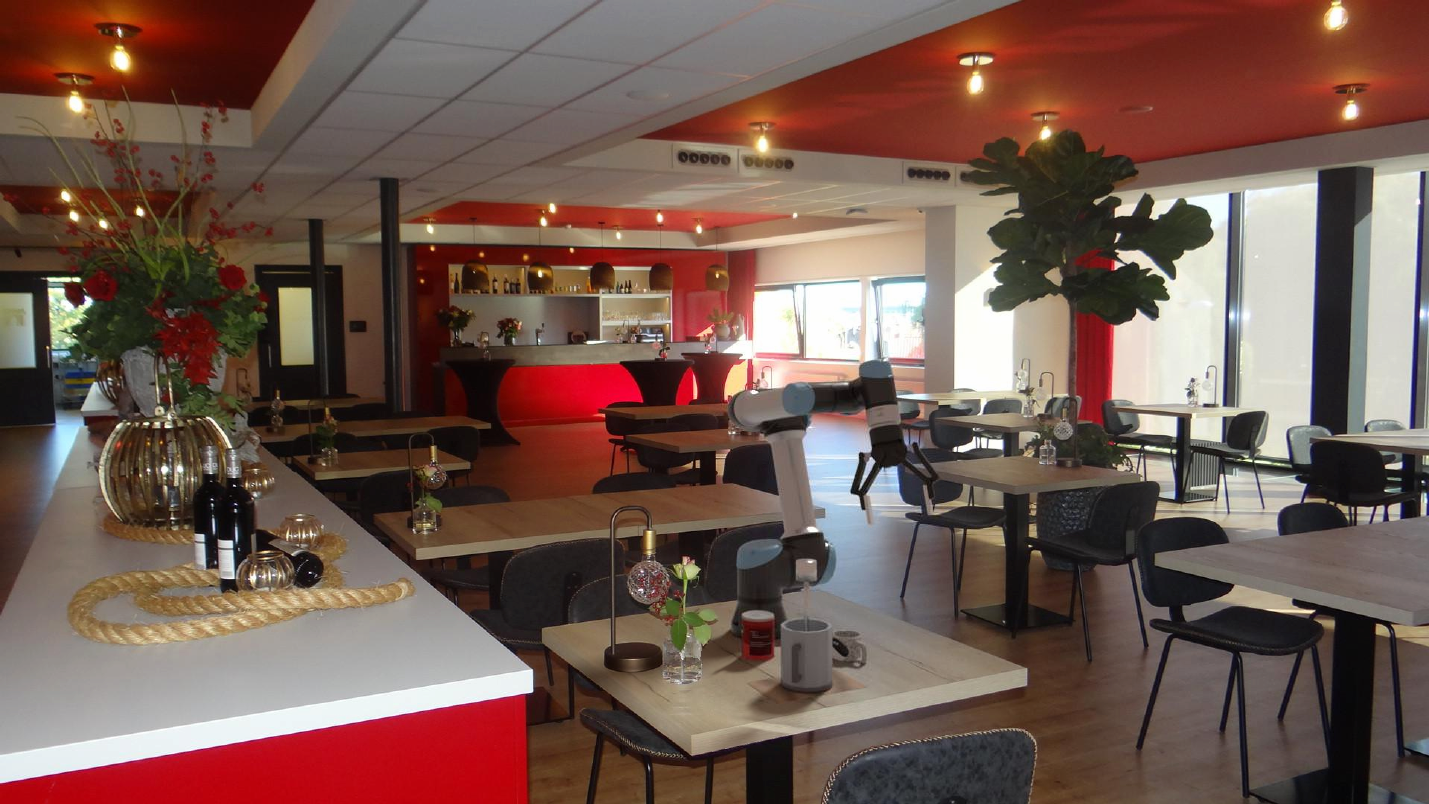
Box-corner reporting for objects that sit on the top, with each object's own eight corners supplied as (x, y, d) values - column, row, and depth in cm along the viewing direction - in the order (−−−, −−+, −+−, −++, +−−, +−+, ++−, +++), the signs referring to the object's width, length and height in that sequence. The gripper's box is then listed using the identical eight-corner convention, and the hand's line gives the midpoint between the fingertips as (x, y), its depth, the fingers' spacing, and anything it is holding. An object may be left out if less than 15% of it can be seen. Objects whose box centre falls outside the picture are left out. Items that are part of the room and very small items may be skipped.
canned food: (756, 653, 242) (756, 608, 241) (781, 660, 236) (781, 614, 235) (734, 660, 236) (734, 614, 236) (759, 668, 230) (759, 621, 230)
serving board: (777, 709, 204) (777, 703, 204) (746, 688, 217) (746, 682, 217) (867, 692, 214) (867, 686, 214) (832, 672, 226) (832, 667, 226)
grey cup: (769, 693, 210) (768, 632, 210) (790, 673, 223) (790, 616, 222) (820, 700, 206) (820, 638, 205) (839, 679, 218) (839, 621, 217)
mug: (826, 660, 235) (826, 633, 235) (847, 655, 239) (847, 628, 239) (855, 672, 227) (855, 643, 227) (876, 666, 231) (876, 638, 230)
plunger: (783, 648, 213) (783, 563, 212) (795, 638, 220) (795, 556, 219) (817, 652, 210) (817, 566, 209) (828, 642, 217) (828, 558, 216)
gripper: (828, 435, 228) (842, 527, 224) (936, 413, 219) (953, 509, 215) (837, 438, 235) (851, 528, 231) (942, 418, 226) (959, 511, 222)
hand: (900, 519), depth 223 cm, fingers open, 13 cm apart
